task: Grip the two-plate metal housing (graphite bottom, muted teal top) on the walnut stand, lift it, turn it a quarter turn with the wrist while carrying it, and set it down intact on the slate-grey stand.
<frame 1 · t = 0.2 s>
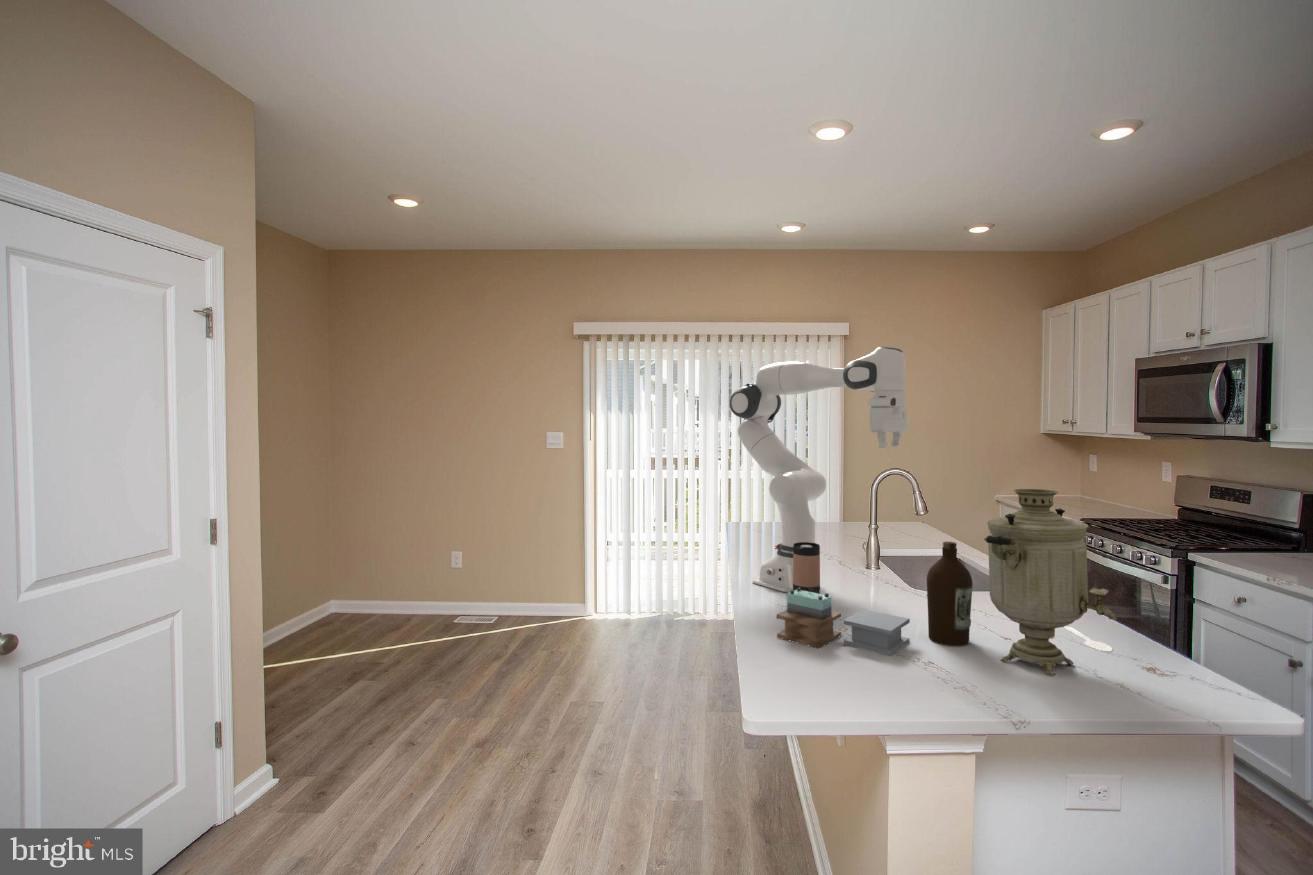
hand: (889, 447, 190), 48 cm above the countertop, tool pointing down, fingers open, 8 cm apart
samovar: (1045, 668, 144), on the countertop
travel mug: (806, 613, 183), on the countertop
housing: (809, 613, 164), point 6 cm above the countertop, touching stand A
spoon: (1085, 640, 162), on the countertop
stand B: (876, 642, 159), on the countertop
olive oil: (948, 640, 161), on the countertop
stand A: (809, 636, 164), on the countertop
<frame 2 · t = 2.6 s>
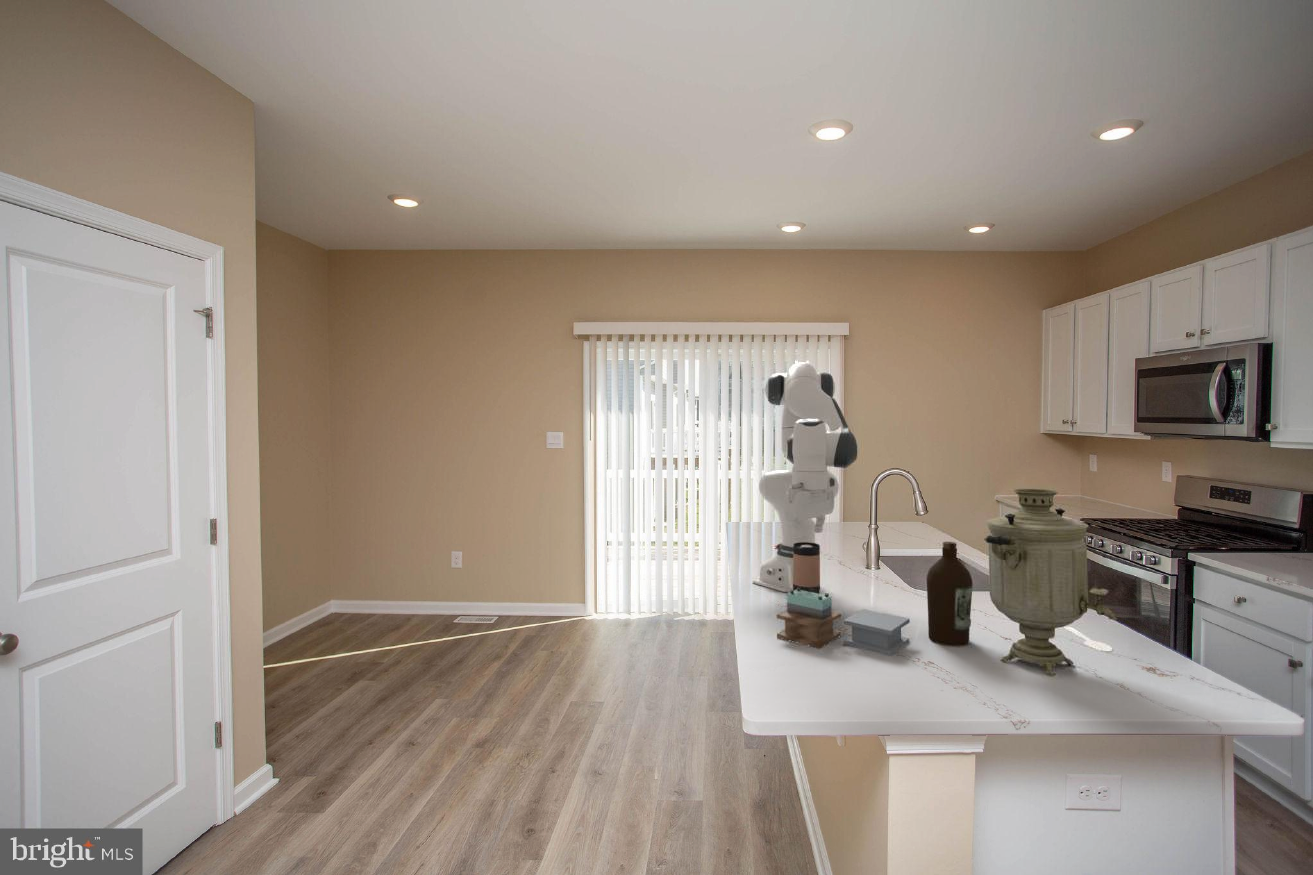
hand: (809, 535, 163), 27 cm above the countertop, tool pointing down, fingers open, 8 cm apart
nothing on the countertop moved.
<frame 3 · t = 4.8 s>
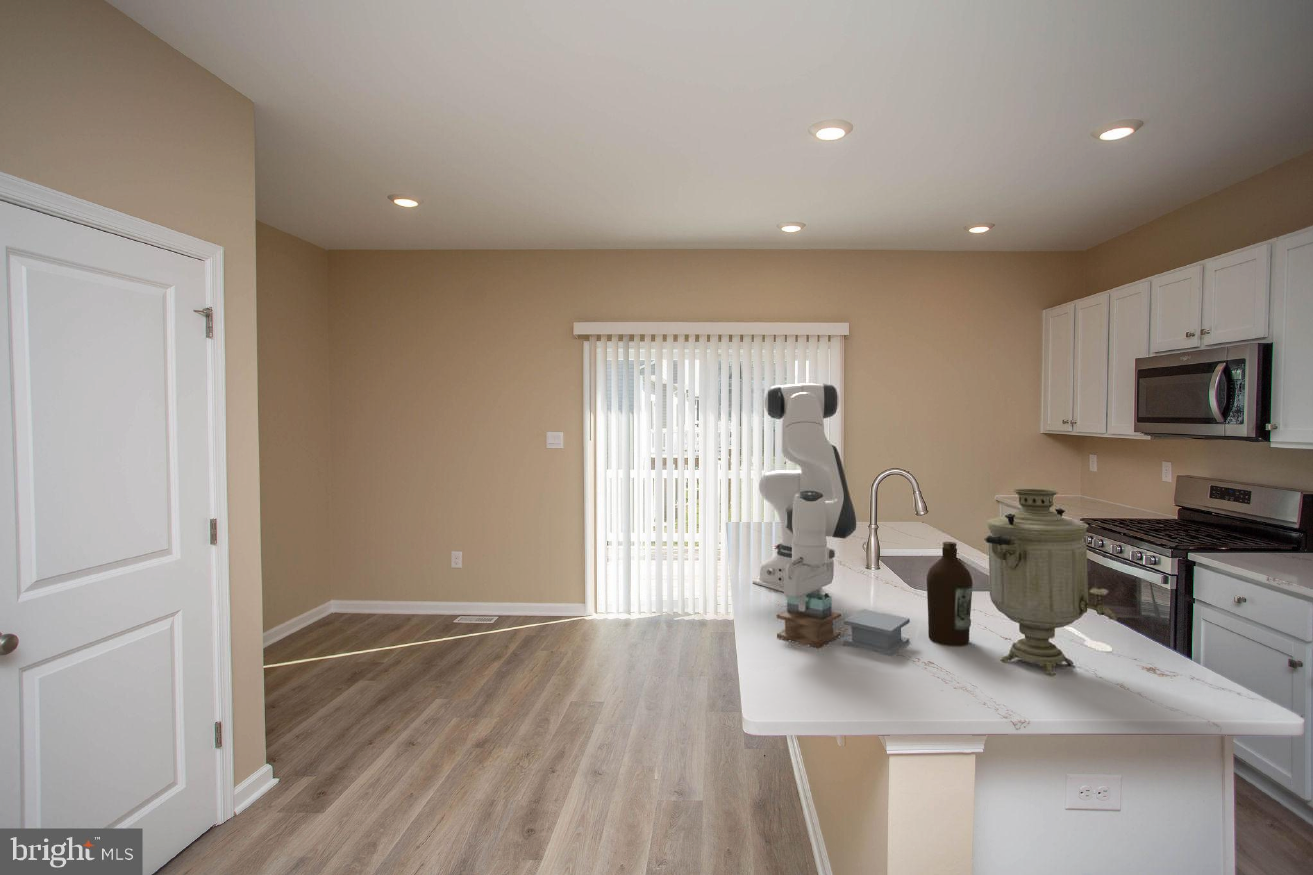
hand: (809, 607, 164), 8 cm above the countertop, tool pointing down, fingers closed on housing, 5 cm apart
housing: (809, 613, 164), point 6 cm above the countertop, touching gripper, stand A
everything else where it was.
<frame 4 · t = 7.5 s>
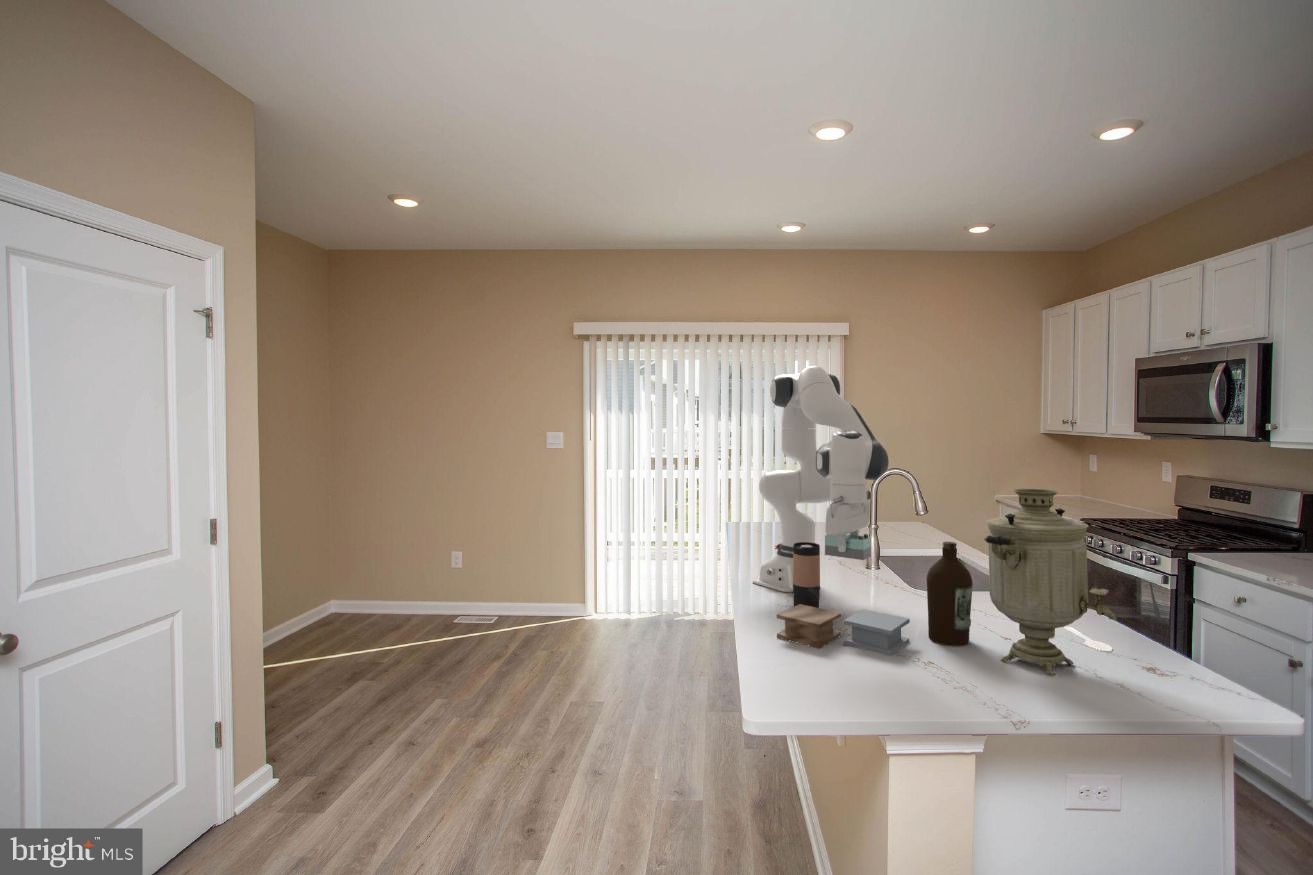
hand: (847, 549, 160), 23 cm above the countertop, tool pointing down, fingers closed on housing, 5 cm apart
housing: (847, 555, 160), point 22 cm above the countertop, touching gripper
everything else where it was.
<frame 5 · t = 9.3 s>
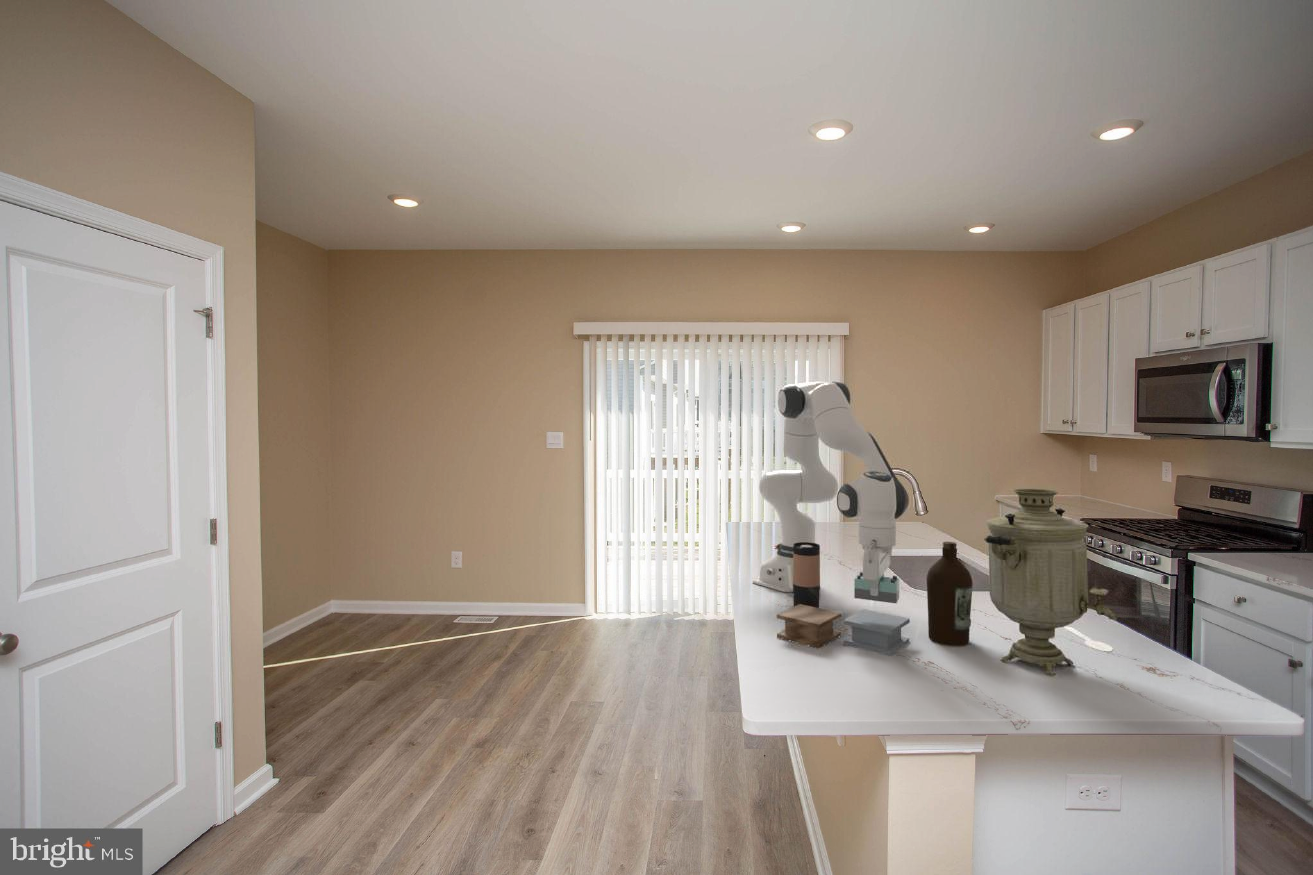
hand: (876, 591, 159), 13 cm above the countertop, tool pointing down, fingers closed on housing, 5 cm apart
housing: (876, 598, 159), point 11 cm above the countertop, touching gripper
everything else where it was.
when the fingers open (9 cm above the countertop, at t = 10.5 s): housing drops 1 cm, resting on stand B.
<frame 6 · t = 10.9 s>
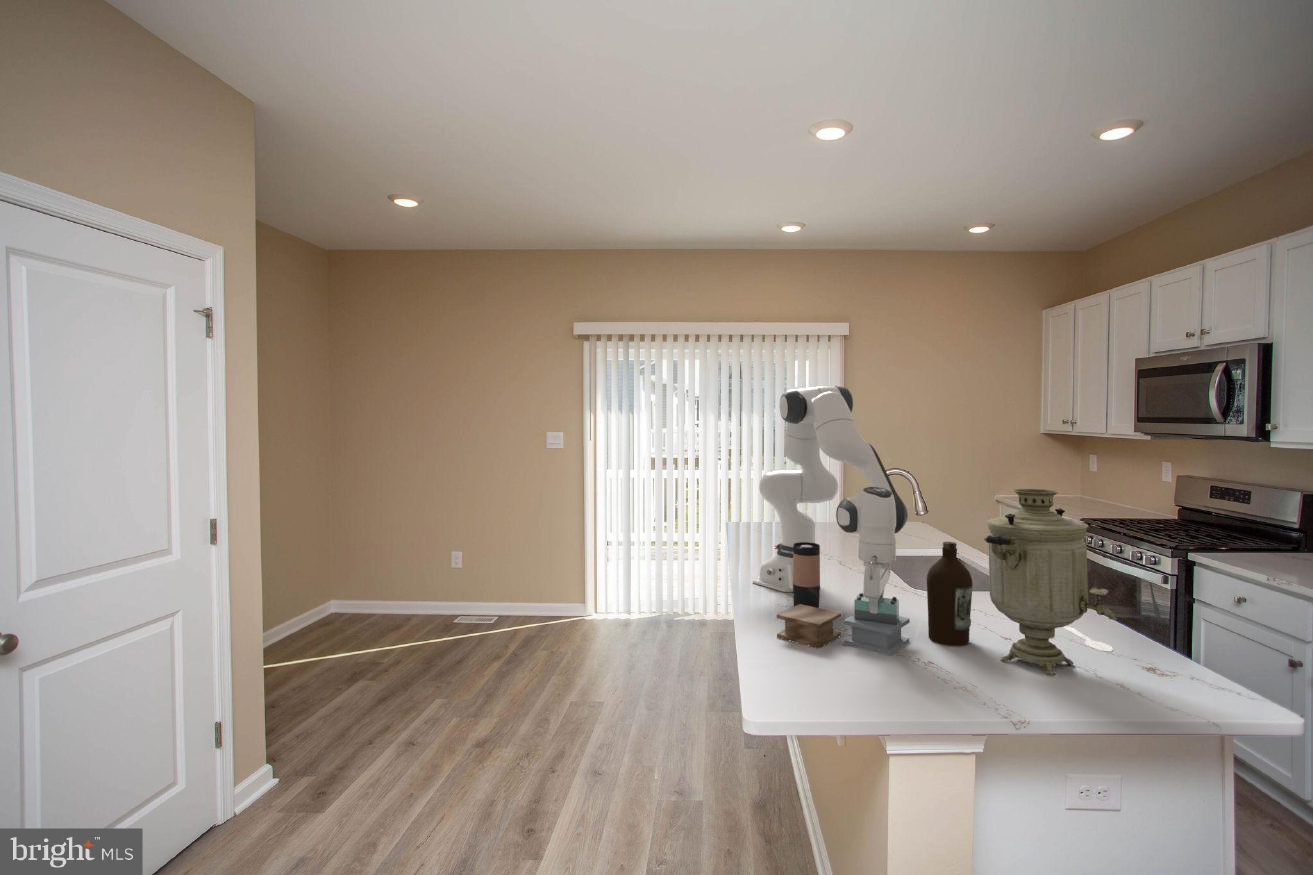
hand: (876, 607, 159), 9 cm above the countertop, tool pointing down, fingers open, 8 cm apart
housing: (876, 619, 159), point 6 cm above the countertop, touching stand B
everything else where it was.
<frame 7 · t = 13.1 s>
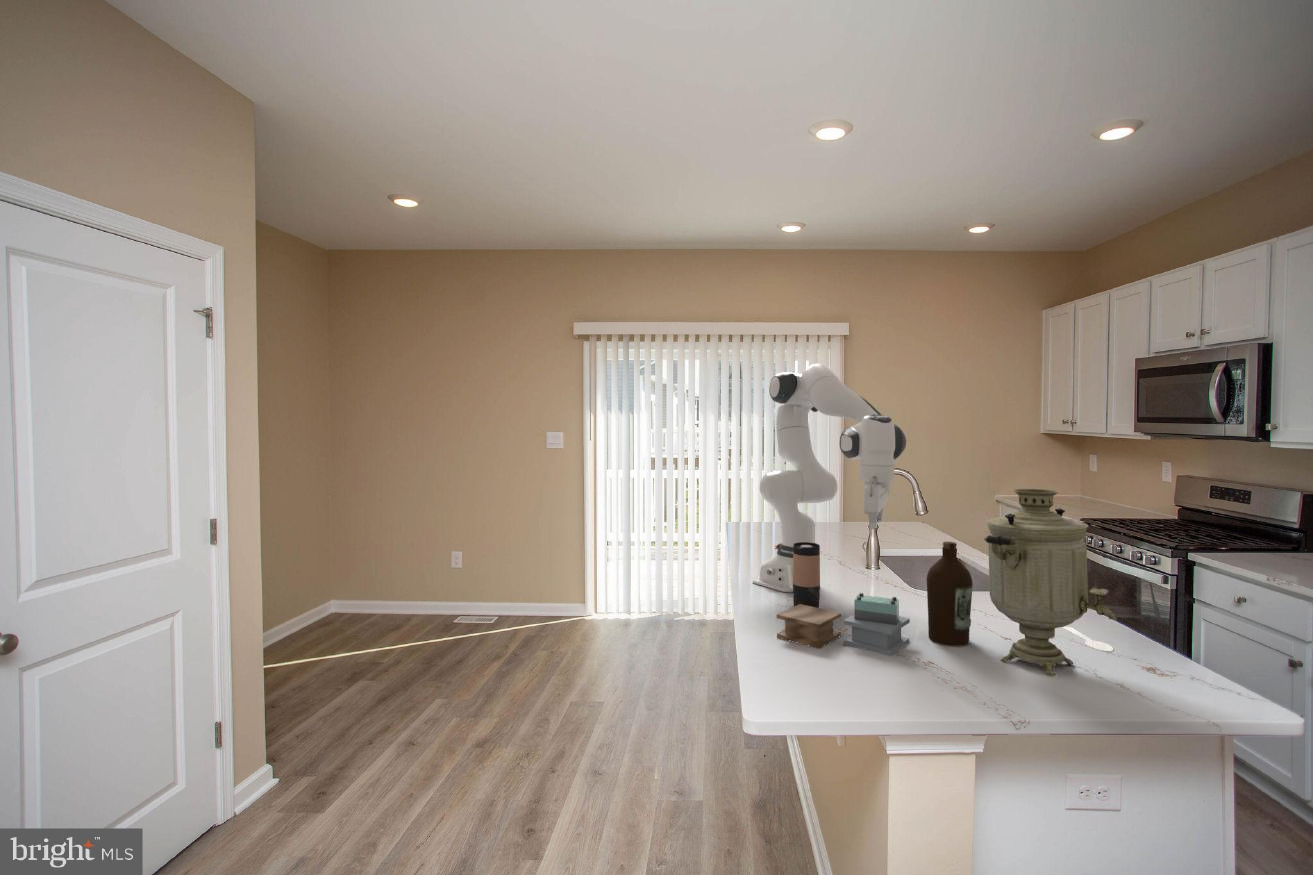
hand: (875, 524, 173), 27 cm above the countertop, tool pointing down, fingers open, 8 cm apart
nothing on the countertop moved.
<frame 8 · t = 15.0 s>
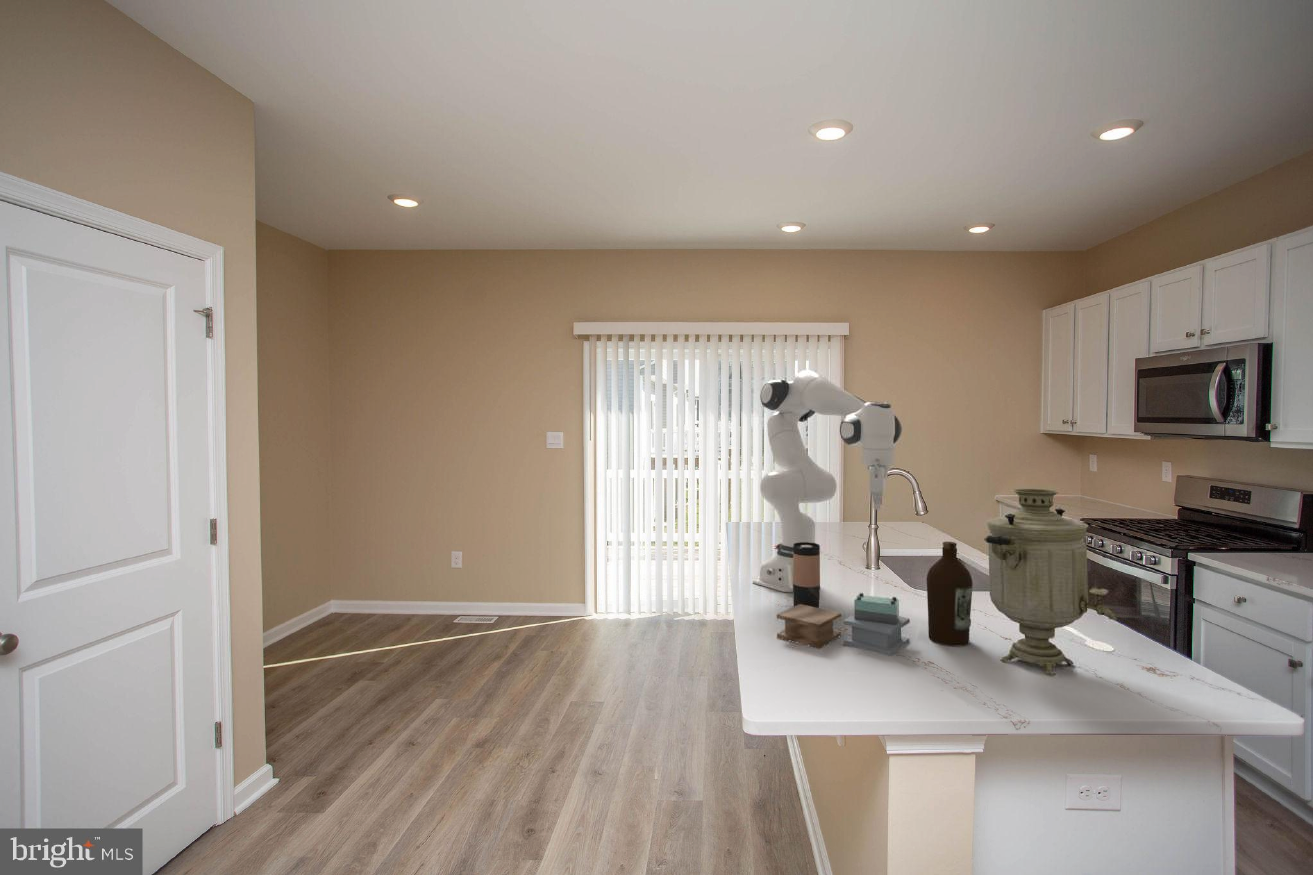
hand: (877, 506, 181), 31 cm above the countertop, tool pointing down, fingers open, 8 cm apart
nothing on the countertop moved.
at the end: housing 0.1 cm off-centre on the stand B, point 6.0 cm above the stand B's base; housing tilted 0°; the gripper is holding nothing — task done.
